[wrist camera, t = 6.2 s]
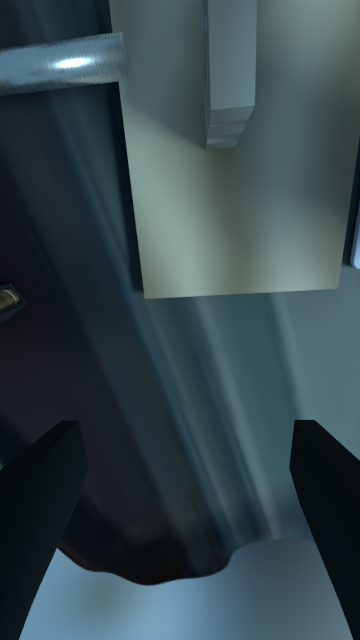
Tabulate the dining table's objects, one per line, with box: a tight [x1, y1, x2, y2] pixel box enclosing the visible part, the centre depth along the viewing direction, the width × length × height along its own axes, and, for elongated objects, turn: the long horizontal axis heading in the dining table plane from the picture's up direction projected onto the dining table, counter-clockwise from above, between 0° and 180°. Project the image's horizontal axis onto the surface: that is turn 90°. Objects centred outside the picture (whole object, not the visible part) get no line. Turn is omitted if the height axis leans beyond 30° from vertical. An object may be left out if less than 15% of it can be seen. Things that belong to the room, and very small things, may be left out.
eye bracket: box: [109, 0, 360, 299], centre depth 11 cm, size 12×22×6 cm, turn 4°
